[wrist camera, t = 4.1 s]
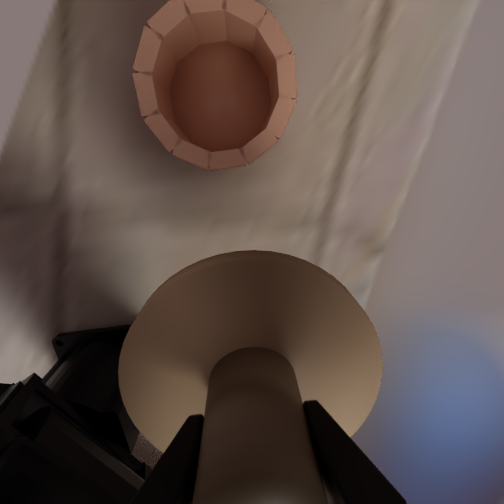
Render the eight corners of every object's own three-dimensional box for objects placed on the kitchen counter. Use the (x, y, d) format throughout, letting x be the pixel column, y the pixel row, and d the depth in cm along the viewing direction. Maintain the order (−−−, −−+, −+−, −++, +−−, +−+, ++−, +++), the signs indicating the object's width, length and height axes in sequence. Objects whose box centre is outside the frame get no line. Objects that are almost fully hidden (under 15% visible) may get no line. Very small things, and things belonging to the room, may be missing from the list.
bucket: (172, 172, 18) (154, 177, 14) (145, 36, 16) (116, -2, 12) (287, 158, 18) (301, 158, 14) (277, 20, 16) (289, -23, 12)
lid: (158, 465, 13) (108, 654, 8) (99, 267, 10) (-36, 377, 5) (369, 439, 13) (448, 611, 8) (372, 234, 10) (499, 310, 5)
